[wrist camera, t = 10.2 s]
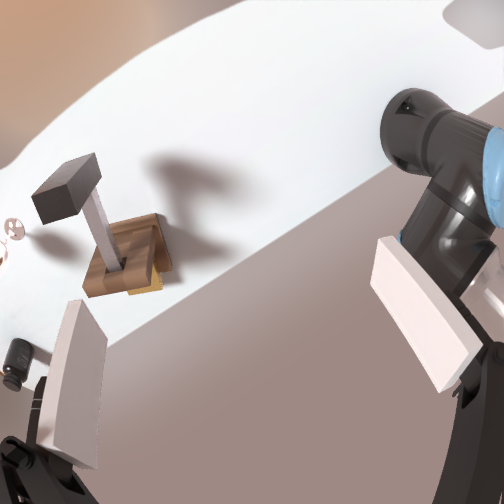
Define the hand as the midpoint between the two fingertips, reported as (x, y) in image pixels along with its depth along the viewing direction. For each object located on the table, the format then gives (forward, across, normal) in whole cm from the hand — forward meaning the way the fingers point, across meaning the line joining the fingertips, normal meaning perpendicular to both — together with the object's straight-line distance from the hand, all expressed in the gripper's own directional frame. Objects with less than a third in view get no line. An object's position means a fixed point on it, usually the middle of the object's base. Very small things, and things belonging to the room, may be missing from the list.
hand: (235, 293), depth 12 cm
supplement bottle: (+32, +54, +36) cm, 72 cm away
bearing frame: (+32, +14, +15) cm, 38 cm away
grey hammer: (+23, +14, +5) cm, 27 cm away
